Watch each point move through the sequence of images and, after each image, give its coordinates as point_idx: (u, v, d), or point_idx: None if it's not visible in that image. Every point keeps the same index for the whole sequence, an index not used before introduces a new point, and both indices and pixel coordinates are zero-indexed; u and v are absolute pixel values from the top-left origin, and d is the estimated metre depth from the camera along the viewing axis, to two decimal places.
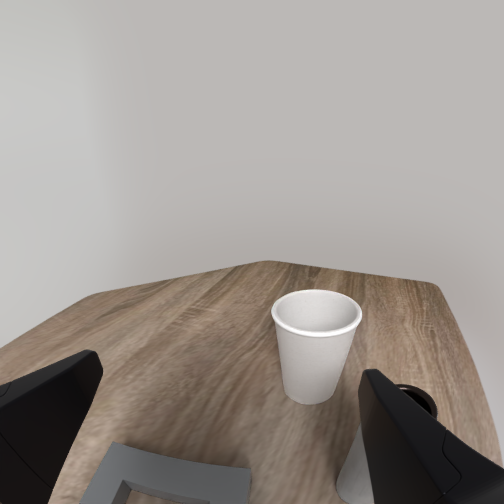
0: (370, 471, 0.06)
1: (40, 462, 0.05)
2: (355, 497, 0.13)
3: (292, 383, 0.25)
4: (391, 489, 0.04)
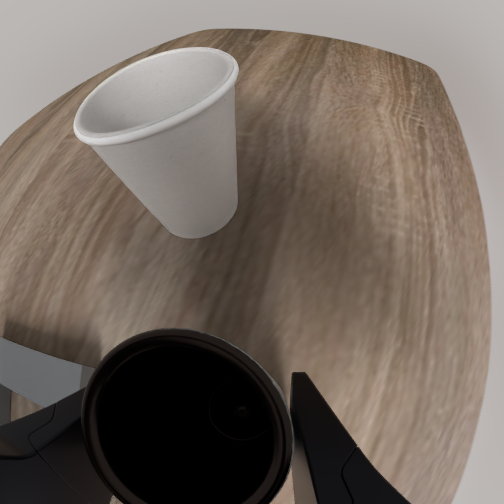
0: (293, 477, 0.06)
1: (92, 489, 0.05)
2: None
3: (149, 210, 0.16)
4: (300, 500, 0.04)
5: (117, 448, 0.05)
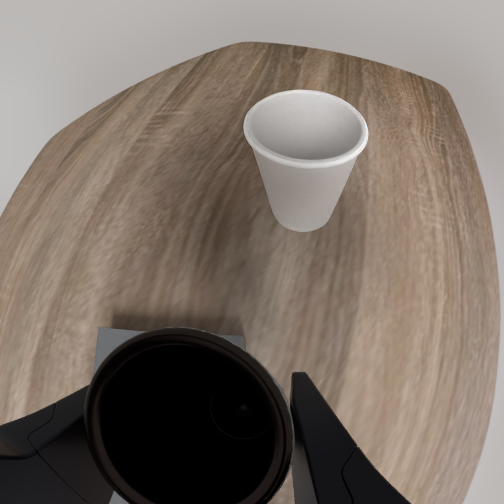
0: (293, 477, 0.06)
1: (91, 489, 0.05)
2: None
3: (281, 211, 0.23)
4: (300, 499, 0.04)
5: (120, 446, 0.05)
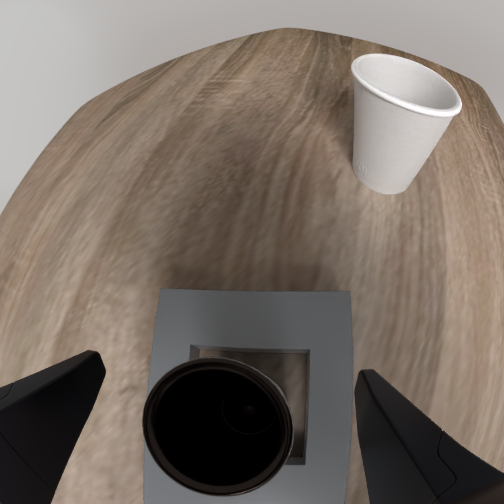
0: (366, 472, 0.06)
1: (43, 463, 0.05)
2: None
3: (373, 167, 0.20)
4: (386, 490, 0.04)
5: (167, 442, 0.07)
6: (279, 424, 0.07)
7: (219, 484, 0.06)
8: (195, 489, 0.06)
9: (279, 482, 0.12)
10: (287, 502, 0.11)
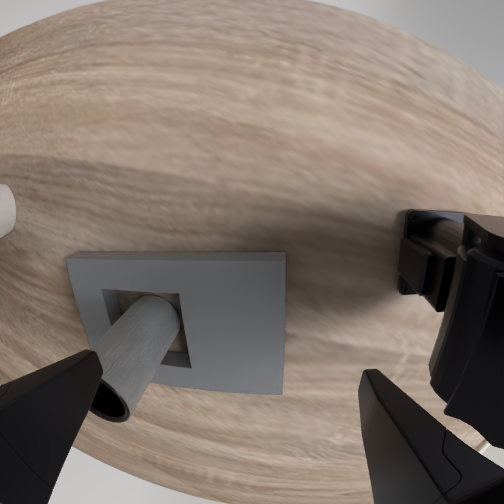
0: (370, 471, 0.06)
1: (40, 462, 0.05)
2: (171, 343, 0.22)
3: None
4: (391, 489, 0.04)
5: (119, 411, 0.15)
6: None
7: (121, 401, 0.14)
8: (126, 411, 0.14)
9: (196, 311, 0.20)
10: (215, 305, 0.20)
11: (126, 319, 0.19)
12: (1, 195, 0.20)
